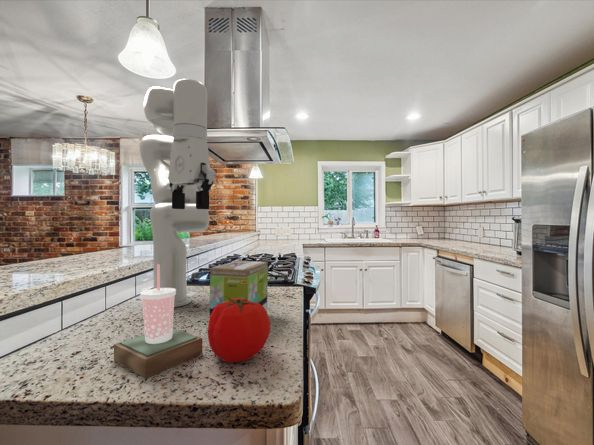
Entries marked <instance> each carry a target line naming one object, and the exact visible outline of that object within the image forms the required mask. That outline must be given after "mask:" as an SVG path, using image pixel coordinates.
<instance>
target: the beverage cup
mask: <svg viewBox="0 0 594 445" xmlns="http://www.w3.org/2000/svg"><path fill="white" fill-rule="evenodd" d="M175 294H176V289H175V288H160V264H157V288H155V289H153V288H150V289H146V290H142V291H141V292H139V295H140V299H141V302H142V315H143V327H144V334H145V341H146V343H149V344H157V343H163V342H166V341H169V340H170V339H171V338H172V333H173V328H174V314H175V313H174V312H175V311H174V310H175V307H174V297H175Z"/></svg>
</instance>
